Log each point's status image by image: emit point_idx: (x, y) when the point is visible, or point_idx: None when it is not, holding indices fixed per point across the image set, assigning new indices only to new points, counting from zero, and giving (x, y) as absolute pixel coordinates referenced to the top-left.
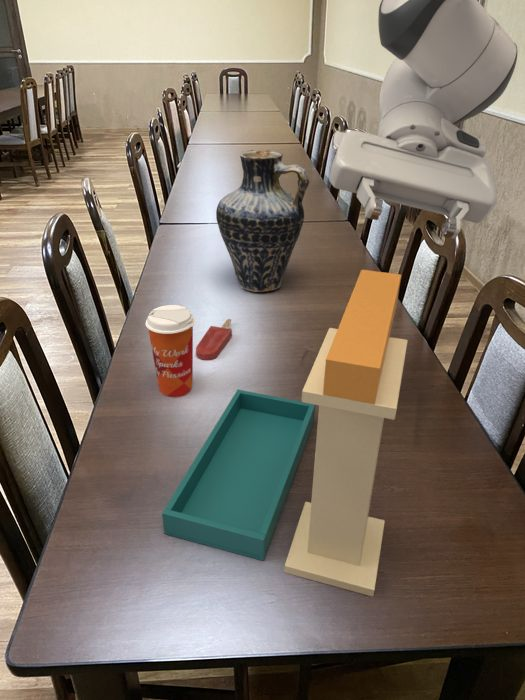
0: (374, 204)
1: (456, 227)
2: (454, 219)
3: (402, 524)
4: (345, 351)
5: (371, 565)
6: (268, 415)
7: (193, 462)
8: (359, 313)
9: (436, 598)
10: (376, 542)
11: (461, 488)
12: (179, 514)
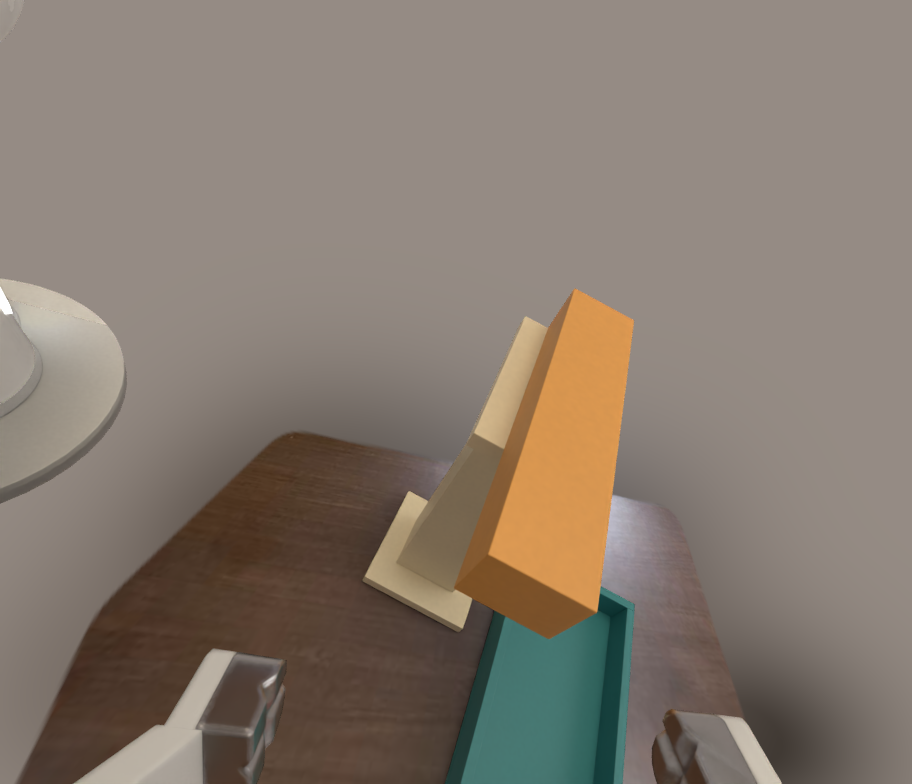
0: (734, 736)
1: (236, 655)
2: (216, 715)
3: (334, 581)
4: (613, 324)
5: (403, 517)
6: None
7: (627, 701)
8: (599, 398)
9: (341, 481)
10: (387, 545)
11: (195, 639)
12: (616, 598)
